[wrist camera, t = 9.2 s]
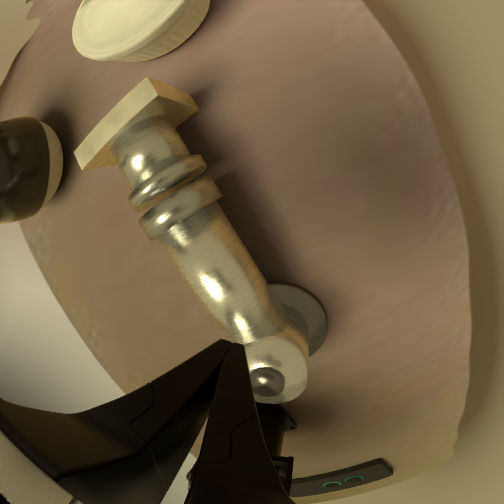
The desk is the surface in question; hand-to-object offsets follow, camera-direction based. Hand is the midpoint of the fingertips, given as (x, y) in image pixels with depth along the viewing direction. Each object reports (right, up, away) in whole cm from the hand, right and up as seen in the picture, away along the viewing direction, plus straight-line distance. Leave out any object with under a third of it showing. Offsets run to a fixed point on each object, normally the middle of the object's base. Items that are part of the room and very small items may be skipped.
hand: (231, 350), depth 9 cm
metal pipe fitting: (-1, +4, +11) cm, 12 cm away
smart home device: (+14, -35, +23) cm, 44 cm away
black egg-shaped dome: (-21, +13, +13) cm, 27 cm away
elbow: (0, +1, +12) cm, 12 cm away
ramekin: (-7, +23, +6) cm, 25 cm away
